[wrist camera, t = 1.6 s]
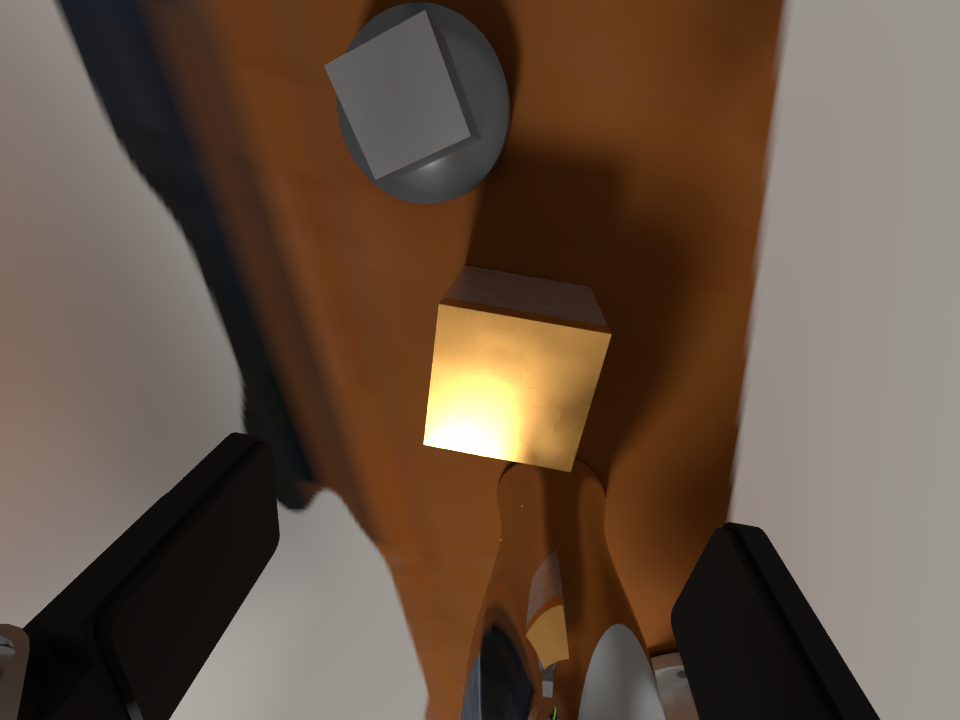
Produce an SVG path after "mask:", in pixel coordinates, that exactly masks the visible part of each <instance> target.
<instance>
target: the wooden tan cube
mask: <svg viewBox="0 0 960 720" xmlns="http://www.w3.org/2000/svg"><path fill="white" fill-rule="evenodd" d="M611 335H612V334H611V332H610V330H609V328H608V325H607V323H606V321H605V319H604V316H603V314H602V312H601V310H600V308H599V305H598V303H597V301H596V299H595V296H594V294H593V292H592V290H591V288H590V287H589V286H583V285H577V284H571V283H566V282H560V281H554V280H548V279H542V278H536V277H531V276H525V275H519V274H513V273H507V272H502V271H496V270H490V269H484V268H478V267H472V266H467V265H465V266H464V267H463V269H462V270H461V272H460V273H459V275H458V276H457V278H456V279H455V281H454V282H453V284H452V285H451V287H450V288H449V290H448V291H447V293H446V294H445V296H444V297H443V299H442V300H441V302H440V303H439V309H438V318H437V328H436V337H435V346H434V355H433V364H432V373H431V383H430V392H429V401H428V410H427V419H426V428H425V438H424V445H430V446H435V447H440V448H446V449H451V450H456V451H461V452H467V453H472V454H477V455H483V456H488V457H493V458H498V459H504V460H509V461H514V462H520V463H525V464H530V465H535V466H541V467H546V468H551V469H557V470H562V471H567V472H571V469H572V466H573V462H574V459H575V456H576V452H577V449H578V446H579V442H580V439H581V435H582V432H583V429H584V425H585V422H586V419H587V415H588V412H589V409H590V405H591V402H592V398H593V395H594V392H595V388H596V385H597V382H598V378H599V375H600V372H601V368H602V365H603V361H604V358H605V355H606V351H607V348H608V345H609V341H610V338H611Z"/></svg>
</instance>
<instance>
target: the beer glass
mask: <svg viewBox="0 0 960 720" xmlns="http://www.w3.org/2000/svg"><path fill="white" fill-rule="evenodd" d="M497 501H498V508H499V513H500V520H501V536H500V543H499V549H498V553H497V557H496V560H495V564H494V567H493V570H492V574H491V577H490V580H489V583H488V586H487V589H486V593H485V596H484V599H483V603H482V606H481V609H480V612H479V616H478V619H477V623H476V627H475V631H474V635H473V639H472V643H471V647H470V651H469V656H468V662H467V668H466V674H465V680H464V686H463V692H462V701H461V710H460V719H459V720H667V716H666V711H665V707H664V703H663V699H662V696H661V692H660V688H659V684H658V681H657V677H656V673H655V670H654V666H653V662H652V660H651V657H650V654H649V651H648V648H647V646H646V643H645V640H644V637H643V634H642V632H641V629H640V626H639V623H638V621H637V619H636V616H635V614H634V611H633V609H632V606H631V604H630V601H629V599H628V597H627V594H626V592H625V589H624V587H623V585H622V582H621V580H620V578H619V575H618V573H617V571H616V568H615V566H614V563H613V560H612V558H611V555H610V553H609V549H608V545H607V542H606V536H605V492H604V488H603V485H602V483H601V481H600V479H599V477H598V476H597V475H596V473H595V472H594V471H593V470H592V469H591V468H590V467H588V466H587V465H586V464H584V463H583V462H581V461H579V460H577V459H574V462H573V466H572V469H571V472H567V471H562V470H557V469H551V468H546V467H541V466H535V465H530V464H525V463H520V462H516V463H515V464H513V465H512V466H511V467H510V468H509V469H508V470H507V471H506V472H505V473H504V475H503V476H502V478H501V480H500V482H499V485H498V489H497Z"/></svg>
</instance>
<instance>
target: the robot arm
mask: <svg viewBox="0 0 960 720" xmlns="http://www.w3.org/2000/svg"><path fill="white" fill-rule="evenodd" d="M279 536H280V534H279V522H278V511H277V500H276V489H275V478H274V467H273V456H272V449H271V447H270V446H268V445H266V444H265V440H264V439H263V438H262V437H258V436H253V435H247V434H242V433H236V432H235V433H231V434H230V435H229V436H227V437H226V438H225V439H224V440H223V441H222V442H221V443H220V444H219V445H218V446H217V447H216V448H215V449H214V450H213V451H211V452H210V453H209V454H208V455H207V456H206V457H205V458H204V459H203V460H202V461H201V462H200V463H199V464H198V465H197V466H196V467H195V468H194V469H193V470H191V471H190V472H189V473H188V474H187V475H186V476H185V477H184V478H183V479H182V480H181V481H180V482H179V483H178V484H177V485H176V486H175V487H174V488H173V489H171V490H170V491H169V492H168V493H166V494H165V495H164V496H163V497H161V498H160V499H159V500H158V501H157V502H156V503H155V504H154V505H153V506H152V507H151V508H149V509H148V510H147V511H146V512H145V513H144V514H143V515H142V516H141V517H140V518H139V519H138V520H137V521H136V522H135V523H134V524H133V525H131V526H130V527H129V528H128V530H126V531H125V532H124V533H123V534H122V535H121V536H120V537H119V538H118V539H117V540H116V541H115V542H114V543H112V544H111V545H110V546H109V547H108V548H107V549H106V550H105V551H104V552H103V553H102V554H101V555H100V556H99V557H98V558H97V559H96V560H95V561H94V562H93V563H91V564H90V565H89V566H88V567H87V568H86V569H85V570H84V571H83V572H82V573H81V574H80V575H79V576H78V577H77V578H76V579H74V580H73V581H72V582H71V583H70V584H69V585H68V586H67V587H66V588H65V589H64V590H63V591H62V592H61V593H60V594H59V595H58V596H57V597H55V598H54V599H53V600H52V601H51V602H50V603H49V604H48V605H47V606H46V607H45V608H44V609H43V610H42V611H41V612H40V613H39V614H38V615H36V616H35V617H34V618H33V619H32V620H31V621H30V622H29V623H28V624H27V625H26V626H25V627H24V628H23V629H22V628H20V627H17V626H13V625H10V624H0V720H169V719H170V717H171V716H172V714H173V712H174V711H175V709H176V707H177V706H178V704H179V703H180V701H181V700H182V698H183V697H184V695H185V693H186V692H187V690H188V689H189V687H190V686H191V684H192V682H193V681H194V679H195V677H196V676H197V674H198V673H199V671H200V670H201V668H202V667H203V665H204V663H205V662H206V660H207V659H208V657H209V655H210V654H211V652H212V651H213V649H214V647H215V646H216V644H217V643H218V641H219V640H220V638H221V636H222V635H223V633H224V632H225V630H226V628H227V627H228V625H229V624H230V622H231V621H232V619H233V617H234V616H235V614H236V613H237V611H238V609H239V608H240V606H241V604H242V603H243V601H244V600H245V598H246V597H247V595H248V594H249V592H250V590H251V589H252V587H253V586H254V584H255V583H256V581H257V579H258V578H259V576H260V575H261V573H262V571H263V570H264V568H265V566H266V565H267V563H268V562H269V560H270V559H271V557H272V556H273V554H274V552H275V550H276V548H277V546H278V542H279ZM671 625H672V630H673V633H674V636H675V640H676V643H677V646H678V650H679V652H674V653H669V654H664V655H659V656H655V657H652V658H651V660H652V662H653V666H654V670H655V673H656V677H657V681H658V684H659V688H660V692H661V696H662V699H663V703H664V707H665V711H666V716H667V720H880V719H879V717H878V715H877V714H876V712H875V710H874V709H873V707H872V705H871V704H870V703H869V701H868V699H867V697H866V696H865V694H864V693H863V691H862V690H861V688H860V686H859V685H858V683H857V681H856V680H855V678H854V676H853V675H852V673H851V671H850V670H849V668H848V667H847V665H846V663H845V662H844V660H843V658H842V657H841V655H840V654H839V652H838V650H837V649H836V647H835V646H834V644H833V642H832V641H831V639H830V637H829V636H828V634H827V633H826V631H825V629H824V628H823V626H822V624H821V623H820V621H819V620H818V618H817V616H816V615H815V613H814V611H813V610H812V608H811V606H810V605H809V603H808V602H807V600H806V599H805V597H804V595H803V594H802V592H801V590H800V589H799V587H798V585H797V584H796V582H795V581H794V579H793V577H792V576H791V574H790V572H789V571H788V569H787V568H786V566H785V564H784V563H783V561H782V560H781V558H780V556H779V555H778V553H777V551H776V550H775V548H774V546H773V545H772V543H771V542H770V540H769V538H768V537H767V535H766V534H765V532H763V530H762V529H760V528H759V527H754V526H748V525H743V524H737V523H732V522H728V523H726V524H724V526H723V527H722V528H717V529H716V530H715V531H714V532H713V534H712V536H711V538H710V540H709V542H708V543H707V545H706V547H705V549H704V551H703V553H702V555H701V556H700V558H699V560H698V562H697V564H696V566H695V568H694V569H693V571H692V573H691V575H690V577H689V579H688V581H687V582H686V584H685V586H684V588H683V590H682V592H681V594H680V595H679V597H678V599H677V601H676V603H675V605H674V607H673V609H672V612H671Z"/></svg>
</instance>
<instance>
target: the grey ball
mask: <svg viewBox="0 0 960 720" xmlns="http://www.w3.org/2000/svg"><path fill="white" fill-rule="evenodd" d="M324 67H325V69H326V71H327V73H328V75H329V78H330V80H331V82H332V84H333V87H334V89H335V91H336V93H337V112H338V118H339V124H340V128H341V131H342V135H343V138H344V140H345V143H346V145H347V148H348V150H349V152H350V154H351V155H352V157H353V159H354V161H355V162H356V164H357V165H358V166H359V168H360V169H361V170H362V172H363V173H364V174H365V175H366V176H367V177H368V178H369V179H370V180H371V181H372V182H373V183H374V184H375V185H376V186H378V187H379V188H381V189H382V190H383V191H385V192H387V193H389V194H390V195H392V196H394V197H396V198H399V199H402V200H404V201H408V202H413V203H420V204H435V203H440V202H445V201H448V200H451V199H454V198H457V197H459V196H461V195H463V194H465V193H467V192H469V191H471V190H472V189H474V188H475V187H477V186H478V185H479V184H480V183H482V182H483V181H484V180H485V179H486V178H487V177H488V176H489V174H490V173H491V172H492V171H493V170H494V168H495V166H496V165H497V163H498V162H499V160H500V158H501V156H502V154H503V152H504V149H505V146H506V143H507V140H508V136H509V131H510V124H511V101H510V93H509V89H508V85H507V81H506V78H505V75H504V72H503V69H502V67H501V64H500V62H499V59H498V57H497V55H496V53H495V51H494V50H493V48H492V46H491V45H490V43H489V42H488V40H487V39H486V37H485V36H484V35H483V34H482V33H481V32H480V30H479V29H478V28H477V27H476V26H475V25H474V24H473V23H471V22H470V21H469V20H468V19H466V18H465V17H464V16H462V15H460V14H459V13H457V12H455V11H454V10H451V9H449V8H447V7H444V6H442V5H437V4H433V3H426V2H412V3H404V4H400V5H397V6H393V7H391V8H389V9H387V10H385V11H383V12H381V13H380V14H378V15H377V16H375V17H374V18H372V19H371V20H370V21H369V22H368V23H367V24H366V25H365V26H364V27H363V28H362V29H361V30H360V31H359V33H358V34H357V35H356V36H355V38H354V40H353V41H352V43H351V44H350V46H349V48H348V50H347V52H346V54H344V55H342V56H341V57H339V58H337V59H335V60H333V61H332V62H330V63H328V64H326V65H324Z"/></svg>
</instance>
